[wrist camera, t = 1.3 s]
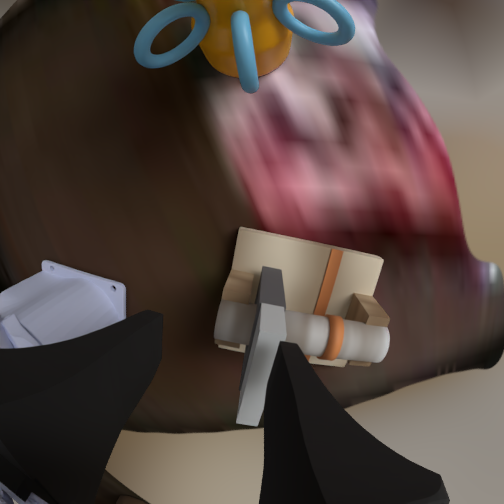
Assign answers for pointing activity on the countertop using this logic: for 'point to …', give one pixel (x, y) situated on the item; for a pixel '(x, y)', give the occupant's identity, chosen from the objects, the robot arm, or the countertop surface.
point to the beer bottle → (129, 500)
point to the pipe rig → (308, 298)
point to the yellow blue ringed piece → (240, 35)
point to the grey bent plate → (262, 345)
